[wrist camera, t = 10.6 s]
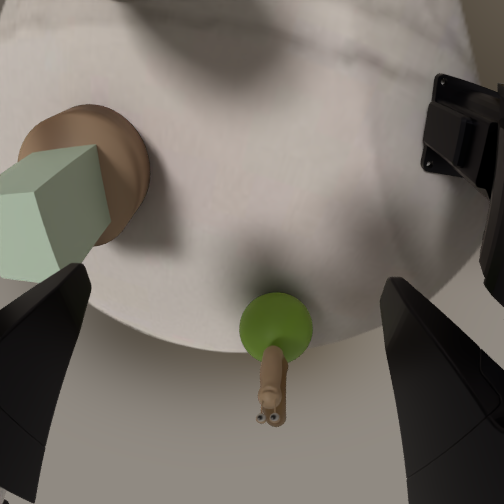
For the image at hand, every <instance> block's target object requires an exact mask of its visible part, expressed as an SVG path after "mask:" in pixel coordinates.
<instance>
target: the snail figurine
mask: <svg viewBox="0 0 504 504" xmlns="http://www.w3.org/2000/svg"><path fill="white" fill-rule="evenodd" d="M239 332H240V338H241V341H242V343H243V345H244V347H245V349H246V350H247V352H248V353H249V354H250V355H251V356H252V357H254V358H255V359H257V360H258V361H261V362H262V363H261V368H260V389H259V392H258V400H259V403H260V404H261V413H260V414H258V415H257V417H256V421H257V422H258V423H260V424H263V423H265V422H266V421H267V423H268V424H269V425H271V426H274V427H279V426H281V425H282V424H284V422H285V421H286V374H287V370H288V362H291V361H293V360H295V359H296V358H298V357H299V356H300V355H301V354H302V353H303V352H304V351H305V350H306V348H307V347H308V345H309V343H310V341H311V337H312V332H313V325H312V319H311V316H310V314H309V312H308V310H307V308H306V307H305V306H304V304H303V303H302V302H301V301H299V300H298V299H297V298H295V297H293V296H291V295H289V294H285V293H279V292H274V293H267V294H264V295H262V296H259V297H258V298H256V299H255V300H253V301H252V302H251V303H250V304H249V305H248V306H247V307H246V309H245V310H244V312H243V314H242V317H241V320H240V326H239ZM262 410H263V413H264V414H263V413H262Z"/></svg>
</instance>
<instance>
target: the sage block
mask: <svg viewBox="0 0 504 504" xmlns="http://www.w3.org/2000/svg"><path fill="white" fill-rule="evenodd" d="M110 223H111V218H110V214H109V209H108V205H107V200H106V195H105V190H104V185H103V180H102V175H101V170H100V164H99V158H98V152H97V146H96V144H94V145H84V146H76V147H68V148H60V149H53V150H47V151H40V152H34V153H31V154H29V155H28V156H26V157H25V158H23V159H22V160H20V161H19V162H17V163H16V164H14V165H13V166H12V167H10V168H9V169H7V170H6V171H4V172H3V173H2V174H0V275H1V278H6V279H15V280H22V281H29V282H37V283H40V282H42V281H44V280H45V279H47V278H48V277H50V276H51V275H53V274H54V273H56V272H57V271H59V270H61V269H62V268H64V267H65V266H67V265H69V264H70V263H82V262H83V260H84V259H85V257H86V256H87V254H88V253H89V251H90V250H91V249H92V247H93V246H94V244H95V243H96V242H97V240H98V239H99V237H100V236H101V235H102V233H103V232H104V231H105V229H106V228H107V227H108V225H109V224H110Z"/></svg>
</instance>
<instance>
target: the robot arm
mask: <svg viewBox="0 0 504 504" xmlns="http://www.w3.org/2000/svg"><path fill="white" fill-rule="evenodd" d="M442 78H444V80H445V83H444V84H443V85H442V84H441V79H442ZM423 141H424V142H425V144H424V149H423V154H422V159H421V166H422V167H423V168H424V169H425V170H426V171H428V172H433V173H440V174H446V175H452V176H457V177H463V178H465V179H466V180H467V181H468V182H469V183H471V184H472V185H473V186H474V187H475V188H476V189H477V190H478V191H479V192H480V193H481V194H483V195H484V196H485V197H486V198H487V199H488V200H489V201H490V206H489V211H488V217H487V222H486V227H485V231H484V234H483V239H482V240H483V241H482V246H481V250H480V259H479V262H480V265H481V269H482V272H483V275H484V277H485V279H484V285H485V287H486V288H487V290H488V291H489V292H490V293H491V295H492V296H493V297H494V298H495V299H496V300H497V301H498V302H499V303H500V304H501V305H502V306H503V307H504V84H500V83H498V92H495V91H493V90H490V89H488V88H485V87H482V86H479V85H477V84H474V83H471V82H468V81H465V80H462V79H459V78H455V77H452V76H449V75H446V74H440V73H439V74H437V75H436V76H435V80H434V88H433V95H432V102H431V103H430V104H429V108H428V115H427V121H426V127H425V132H424V138H423ZM428 161H431V163H430V165H429V166H427V162H428ZM90 293H91V282H90V279H89V277H88V274H87V271H86V268H85V266H84V265H83V264H82V263H70V264H69V265H67V266H65V267H64V268H62V269H61V270H59V271H57V272H56V273H54V274H53V275H51V276H50V277H48V278H47V279H45V280H44V281H42V282H40V283H39V284H37V285H36V286H35V287H33V288H32V289H30V290H29V291H27V292H25V293H24V294H23V295H21V296H20V297H18V298H17V299H15V300H14V301H12V302H11V303H10V304H8V305H7V306H5V307H4V308H2V309H1V310H0V504H9V503H8V501H7V500H5V499H4V498H5V494H6V491H9V492H11V493H13V494H15V495H17V496H19V497H21V498H23V499H25V500H27V501H29V502H31V503H35V499H36V493H37V487H38V482H39V476H40V471H41V466H42V461H43V456H44V452H45V446H46V442H47V438H48V434H49V430H50V426H51V422H52V418H53V415H54V411H55V407H56V404H57V400H58V397H59V394H60V390H61V387H62V383H63V380H64V377H65V374H66V371H67V368H68V365H69V362H70V359H71V356H72V353H73V350H74V347H75V344H76V341H77V339H78V336H79V333H80V329H81V326H82V322H83V318H84V314H85V311H86V307H87V304H88V300H89V297H90ZM380 309H381V317H382V325H383V332H384V342H385V350H386V355H387V360H388V365H389V370H390V375H391V380H392V385H393V390H394V395H395V400H396V407H397V413H398V419H399V425H400V431H401V438H402V445H403V453H404V460H405V469H406V478H407V488H408V501H409V504H504V370H503V369H502V368H501V367H500V366H499V365H498V364H497V363H496V362H494V361H493V360H492V359H491V358H490V357H489V356H488V355H487V354H486V353H485V352H484V351H483V350H482V349H480V348H479V346H478V345H477V344H476V343H475V342H474V341H473V340H472V339H470V337H468V336H467V335H466V334H465V333H464V332H463V331H462V330H461V329H460V328H459V327H458V326H457V325H456V324H454V323H453V322H452V321H451V320H450V319H449V318H448V317H447V316H446V315H445V314H444V313H442V312H441V311H440V310H439V309H438V308H437V307H436V306H435V305H434V304H432V303H431V302H430V301H429V300H428V299H427V298H426V297H424V296H423V295H422V294H421V293H420V292H419V291H418V290H416V289H415V288H414V287H413V286H412V285H411V284H409V283H408V282H407V281H406V280H405V279H404V278H402V277H389V278H388V279H387V281H386V284H385V287H384V290H383V293H382V295H381V299H380Z"/></svg>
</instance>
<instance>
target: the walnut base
mask: <svg viewBox="0 0 504 504" xmlns="http://www.w3.org/2000/svg"><path fill="white" fill-rule="evenodd" d="M94 144H96V146H97V152H98V158H99V164H100V170H101V175H102V180H103V185H104V190H105V195H106V200H107V205H108V209H109V214H110V218H111V223H110V224H109V225H108V227H107V228H106V229H105V231H104V232H103V233H102V235H101V236H100V237H99V239H98V240H97V242H96V243H95V244H94V246H100V245H103V244H106V243H108V242H109V241H111V240H113V239H114V238H116V237H117V236H118V235H119V234H120V233H121V232H122V231H123V229H124V228H125V226H126V225H127V223H128V222H129V221H130V219H131V218H132V216H133V215H134V213H135V212H136V210H137V209H138V208H139V206H140V205H141V203H142V202H143V200H144V198H145V196H146V193H147V191H148V187H149V182H150V163H149V157H148V154H147V150H146V147H145V145H144V143H143V141H142V139H141V137H140V135H139V134H138V132H137V131H136V129H135V128H134V127H133V126H132V124H131V123H130V122H128V121H127V120H126V119H125V118H124V117H123V116H121V115H120V114H119V113H117V112H115V111H113V110H112V109H109V108H107V107H104V106H99V105H92V104H86V105H79V106H75V107H72V108H70V109H68V110H66V111H63V112H61V113H59V114H57V115H55V116H52V117H50V118H48V119H46V120H44V121H42V122H41V123H39V124H38V125H36V126H35V127H34V128H33V129H32V130H31V131H30V132H29V134H28V135H27V136H26V138H25V140H24V142H23V144H22V146H21V149H20V152H19V156H18V162H19V161H20V160H22V159H23V158H25V157H26V156H28V155H29V154H31V153H34V152H40V151H47V150H53V149H60V148H68V147H76V146H84V145H94ZM94 246H93V247H94Z"/></svg>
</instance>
